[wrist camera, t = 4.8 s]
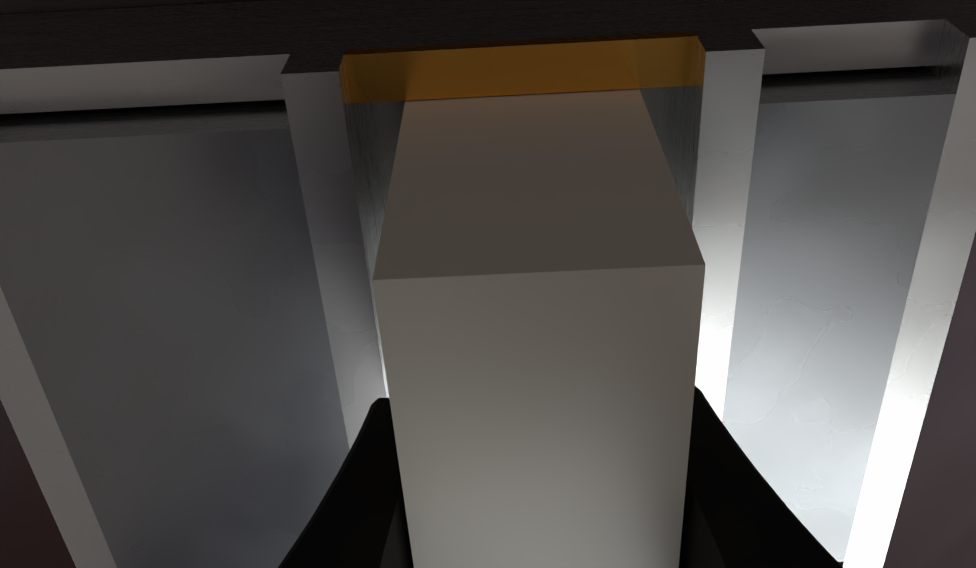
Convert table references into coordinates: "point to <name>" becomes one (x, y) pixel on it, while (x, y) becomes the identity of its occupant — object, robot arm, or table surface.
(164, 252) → the rack
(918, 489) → the table surface
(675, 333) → the beige rectangular block
